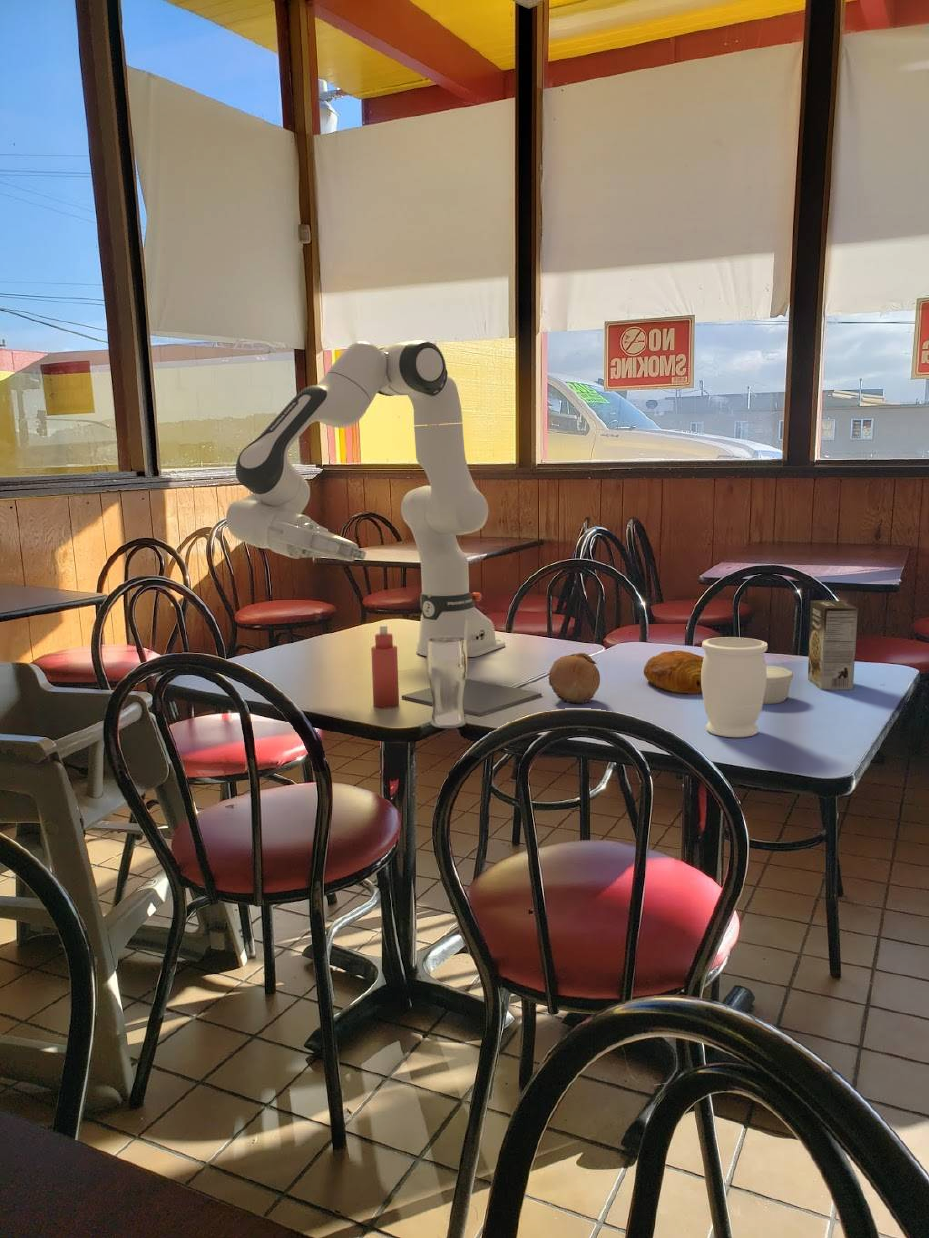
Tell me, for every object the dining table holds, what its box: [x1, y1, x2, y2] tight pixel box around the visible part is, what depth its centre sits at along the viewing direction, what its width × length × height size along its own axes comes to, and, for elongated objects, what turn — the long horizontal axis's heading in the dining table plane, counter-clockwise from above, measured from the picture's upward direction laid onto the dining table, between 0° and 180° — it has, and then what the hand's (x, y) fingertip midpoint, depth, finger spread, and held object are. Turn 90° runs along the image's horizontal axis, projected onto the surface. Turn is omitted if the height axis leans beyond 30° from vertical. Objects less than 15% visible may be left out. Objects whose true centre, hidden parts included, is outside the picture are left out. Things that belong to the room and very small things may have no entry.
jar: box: [701, 636, 768, 738], centre depth 156 cm, size 11×10×15 cm
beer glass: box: [426, 636, 468, 729], centre depth 164 cm, size 7×7×15 cm
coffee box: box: [807, 599, 858, 691], centre depth 186 cm, size 9×6×16 cm
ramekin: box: [763, 664, 794, 705], centre depth 178 cm, size 11×11×5 cm
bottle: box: [370, 625, 400, 709], centre depth 178 cm, size 5×5×15 cm
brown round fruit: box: [548, 652, 601, 704], centre depth 178 cm, size 10×9×10 cm
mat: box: [401, 678, 543, 717], centre depth 183 cm, size 18×20×1 cm
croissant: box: [643, 650, 704, 695], centre depth 188 cm, size 14×16×8 cm
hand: (350, 551), depth 184 cm, fingers open, 8 cm apart
